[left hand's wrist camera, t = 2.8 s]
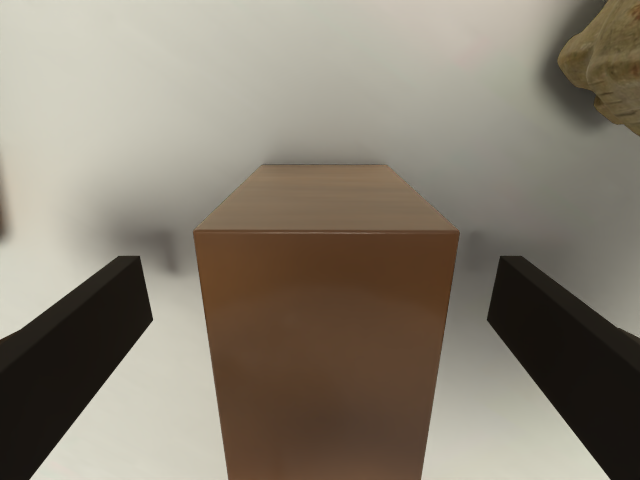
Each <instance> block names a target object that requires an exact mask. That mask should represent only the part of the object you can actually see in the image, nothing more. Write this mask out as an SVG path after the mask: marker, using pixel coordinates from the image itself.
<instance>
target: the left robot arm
mask: <svg viewBox="0 0 640 480" xmlns="http://www.w3.org/2000/svg"><path fill="white" fill-rule="evenodd" d="M152 321H153V317H152V312H151V307H150V302H149V298H148V293H147V288H146V283H145V279H144V274H143V269H142V265H141V260H140V256H118V257H117V258H115V259H114V260H113V261H111V262H110V263H109V264H107V265H106V266H105V267H103V268H102V269H101V270H99V271H98V272H97V273H95V274H94V275H93V276H91V277H90V278H89V279H87V280H86V281H85V282H83V283H82V284H81V285H79V286H78V287H77V288H75V289H74V290H73V291H71V292H70V293H69V294H67V295H66V296H65V297H63V298H62V299H61V300H59V301H58V302H57V303H55V304H54V305H53V306H51V307H50V308H49V309H47V310H46V311H45V312H43V313H42V314H41V315H39V316H38V317H37V318H35V319H34V320H33V321H31V322H30V323H29V324H27V325H26V326H25V327H23V328H22V329H21V330H19V331H17V332H15V333H13V334H11V335H9V336H7V337H5V338H3V339H1V340H0V480H29V479H30V478H31V477H32V476H33V474H34V473H35V472H36V470H37V469H38V468H39V467H40V465H41V464H42V463H43V461H44V460H45V459H46V458H47V456H48V455H49V454H50V452H51V451H52V450H53V449H54V447H55V446H56V445H57V443H58V442H59V441H60V440H61V438H62V437H63V436H64V434H65V433H66V432H67V430H68V429H69V428H70V427H71V425H72V424H73V423H74V421H75V420H76V419H77V418H78V416H79V415H80V414H81V412H82V411H83V410H84V409H85V407H86V406H87V405H88V403H89V402H90V401H91V400H92V398H93V397H94V396H95V394H96V393H97V392H98V390H99V389H100V388H101V387H102V385H103V384H104V383H105V381H106V380H107V379H108V378H109V376H110V375H111V374H112V372H113V371H114V370H115V369H116V367H117V366H118V365H119V363H120V362H121V361H122V360H123V358H124V357H125V356H126V354H127V353H128V352H129V351H130V349H131V348H132V347H133V345H134V344H135V343H136V341H137V340H138V339H139V338H140V336H141V335H142V334H143V332H144V331H145V330H146V329H147V327H148V326H149V325H150V323H151V322H152ZM487 321H488V322H489V323H490V325H491V326H492V327H493V329H494V330H495V331H496V332H497V334H498V335H499V336H500V338H501V339H502V340H503V341H504V343H505V344H506V345H507V347H508V348H509V349H510V351H511V352H512V353H513V354H514V356H515V357H516V358H517V360H518V361H519V362H520V363H521V365H522V366H523V367H524V369H525V370H526V371H527V372H528V374H529V375H530V376H531V378H532V379H533V380H534V381H535V383H536V384H537V385H538V387H539V388H540V389H541V390H542V392H543V393H544V394H545V396H546V397H547V398H548V400H549V401H550V402H551V403H552V405H553V406H554V407H555V409H556V410H557V411H558V412H559V414H560V415H561V416H562V418H563V419H564V420H565V421H566V423H567V424H568V425H569V427H570V428H571V429H572V430H573V432H574V433H575V434H576V436H577V437H578V438H579V440H580V441H581V442H582V443H583V445H584V446H585V447H586V449H587V450H588V451H589V452H590V454H591V455H592V456H593V458H594V459H595V460H596V461H597V463H598V464H599V465H600V467H601V468H602V469H603V470H604V472H605V473H606V474H607V476H608V477H609V478H610V479H611V480H640V338H638V337H636V336H634V335H632V334H630V333H628V332H626V331H624V330H622V329H620V328H617V327H615V326H614V325H613V324H611V323H610V322H609V321H607V320H606V319H605V318H603V317H602V316H601V315H599V314H598V313H597V312H595V311H594V310H593V309H591V308H590V307H589V306H587V305H586V304H585V303H583V302H582V301H581V300H579V299H578V298H577V297H575V296H574V295H573V294H571V293H570V292H569V291H567V290H566V289H565V288H563V287H562V286H561V285H559V284H558V283H557V282H555V281H554V280H553V279H551V278H550V277H549V276H547V275H546V274H545V273H543V272H542V271H541V270H539V269H538V268H537V267H535V266H534V265H533V264H531V263H530V262H529V261H527V260H526V259H525V258H523V257H522V256H500V260H499V265H498V269H497V274H496V279H495V283H494V288H493V293H492V298H491V302H490V307H489V312H488V317H487Z"/></svg>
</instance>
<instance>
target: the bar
mask: <svg viewBox="0 0 640 480" xmlns="http://www.w3.org/2000/svg"><path fill="white" fill-rule="evenodd" d="M459 234H460V232H459V230H458V229H457V228H456V227H455V226H453V225H452V224H451V223H450V222H449V221H448V220H447V219H446V218H445V217H444V216H442V215H441V214H440V213H439V212H438V211H437V210H436V209H435V208H434V207H433V206H431V205H430V204H429V203H428V202H427V201H426V200H425V199H424V198H423V197H422V196H421V195H419V194H418V193H417V192H416V191H415V190H414V189H413V188H412V187H411V186H410V185H408V184H407V183H406V182H405V181H404V180H403V179H402V178H401V177H400V176H399V175H397V174H396V173H395V172H394V171H393V170H392V169H391V168H390V167H389V166H388V165H261V166H260V167H259V168H258V169H257V170H256V171H255V172H254V173H253V174H252V175H251V176H250V177H248V178H247V179H246V180H245V181H244V182H243V183H242V184H241V185H240V186H239V187H238V188H237V189H236V190H235V191H234V192H233V193H232V194H231V195H230V196H229V197H228V198H227V199H226V200H224V201H223V202H222V203H221V204H220V205H219V206H218V207H217V208H216V209H215V210H214V211H213V212H212V213H211V214H210V215H209V216H208V217H207V218H206V219H205V220H204V221H203V222H202V223H200V224H199V225H198V226H197V227H196V228H195V229H194V231H193V235H194V242H195V249H196V256H197V263H198V270H199V277H200V284H201V291H202V298H203V305H204V312H205V319H206V326H207V333H208V340H209V347H210V354H211V361H212V368H213V375H214V382H215V389H216V396H217V403H218V410H219V417H220V424H221V431H222V438H223V445H224V452H225V459H226V466H227V473H228V480H421V475H422V469H423V463H424V456H425V450H426V444H427V437H428V431H429V425H430V418H431V412H432V406H433V399H434V393H435V387H436V380H437V374H438V368H439V361H440V355H441V349H442V342H443V336H444V329H445V323H446V317H447V310H448V304H449V298H450V291H451V285H452V279H453V272H454V266H455V260H456V253H457V247H458V241H459Z"/></svg>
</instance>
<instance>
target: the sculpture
mask: <svg viewBox="0 0 640 480" xmlns="http://www.w3.org/2000/svg"><path fill="white" fill-rule="evenodd" d="M557 63H558V65H559V67H560V69H561V71H562V72H563V73H564V74H565V76H566V77H567V78H568V80H569V81H570V82H571V83H572V84H573V85H574V86H575V87H579V88H584V89H588V90H591V91H593V92H594V93H595V94H596V97H595V100H594V107H595V108H596V110H597V111H598V112H600V113H601V114H602V115H603V116H605V117H606V118H607V119H608V120H610V121H611V122H612V123H614V124H617V125H618V124H624V125H625V126H626V127H628V128H629V129H630V130H631V131H633V132H634V133H635V134H637V135H638V136H640V0H608V1H607V3H606V4H605V6H604V7H603V9H602V10H601V11H600V12H599V14H598V15H597V16H596V17H595V18H594V19H593V20H592V22H591V23H590V24H589V25H588V26H587V27H586V28H585V29H584V30H583V31H582V32H581V33H579V34H577V35H575V36H573V37H572V38H571V39H570V40H568V42H567V43H566V45H565V46H564V47H563V49H562V50H561V52H560V54H559V56H558V60H557Z"/></svg>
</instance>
